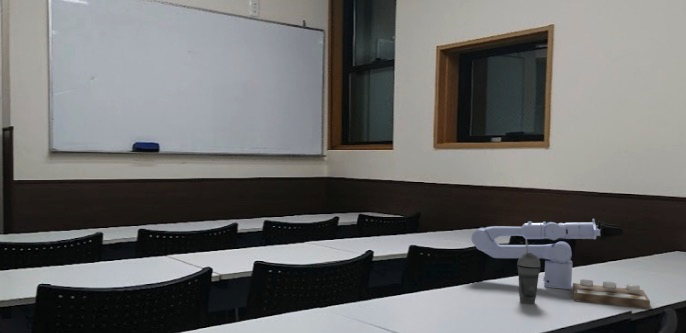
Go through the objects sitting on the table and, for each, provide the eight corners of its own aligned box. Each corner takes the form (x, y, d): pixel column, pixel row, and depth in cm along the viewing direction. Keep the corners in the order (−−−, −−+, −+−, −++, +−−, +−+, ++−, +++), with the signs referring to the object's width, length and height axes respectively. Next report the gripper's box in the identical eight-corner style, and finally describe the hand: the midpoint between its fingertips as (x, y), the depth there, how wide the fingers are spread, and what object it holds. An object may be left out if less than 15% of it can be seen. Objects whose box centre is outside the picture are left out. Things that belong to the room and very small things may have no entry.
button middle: (603, 288, 196) (603, 283, 196) (602, 285, 200) (602, 281, 200) (616, 289, 195) (616, 284, 195) (615, 287, 198) (615, 282, 198)
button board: (573, 300, 193) (574, 291, 193) (572, 290, 209) (573, 282, 208) (649, 308, 186) (649, 299, 186) (642, 297, 201) (643, 289, 201)
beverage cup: (536, 306, 184) (538, 241, 183) (512, 302, 188) (515, 239, 187) (541, 301, 190) (544, 239, 189) (518, 298, 194) (521, 236, 193)
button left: (580, 286, 198) (580, 281, 198) (579, 283, 202) (580, 278, 202) (593, 287, 197) (593, 282, 197) (592, 284, 201) (592, 280, 201)
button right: (626, 290, 194) (627, 285, 194) (625, 288, 197) (625, 283, 197) (640, 292, 192) (640, 287, 192) (638, 289, 196) (639, 284, 196)
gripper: (579, 221, 204) (623, 220, 200) (578, 217, 218) (619, 216, 214) (580, 241, 204) (624, 241, 200) (579, 236, 218) (620, 236, 213)
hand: (621, 230), depth 207 cm, fingers open, 7 cm apart
